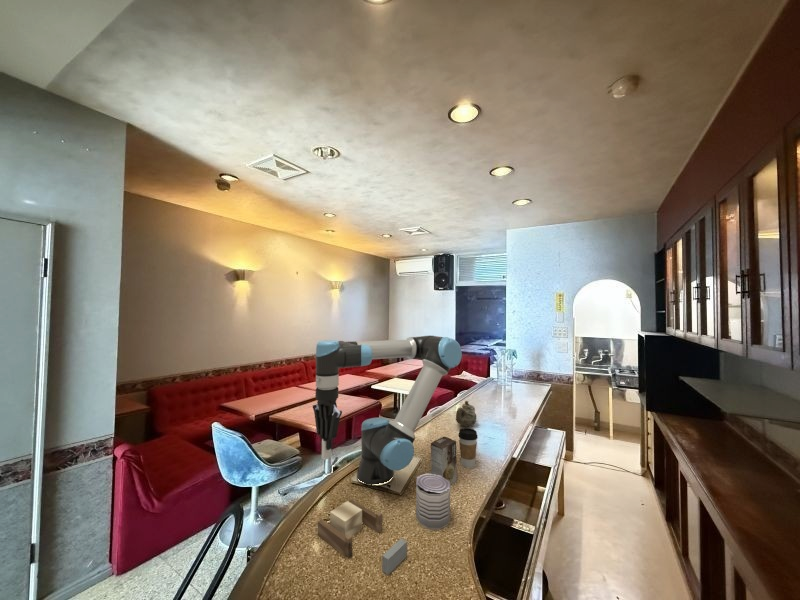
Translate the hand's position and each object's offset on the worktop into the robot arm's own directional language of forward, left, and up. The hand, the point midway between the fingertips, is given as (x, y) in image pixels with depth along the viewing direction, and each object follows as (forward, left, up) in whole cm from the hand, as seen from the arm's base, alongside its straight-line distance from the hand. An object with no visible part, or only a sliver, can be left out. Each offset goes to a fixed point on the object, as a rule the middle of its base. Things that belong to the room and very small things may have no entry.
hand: (326, 458), depth 103 cm
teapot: (-100, 0, -19) cm, 102 cm away
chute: (0, +12, -19) cm, 23 cm away
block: (0, +10, -19) cm, 22 cm away
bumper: (0, +30, -19) cm, 36 cm away
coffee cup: (-61, +21, -19) cm, 67 cm away
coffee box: (-42, +20, -19) cm, 50 cm away
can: (-22, +28, -19) cm, 41 cm away
